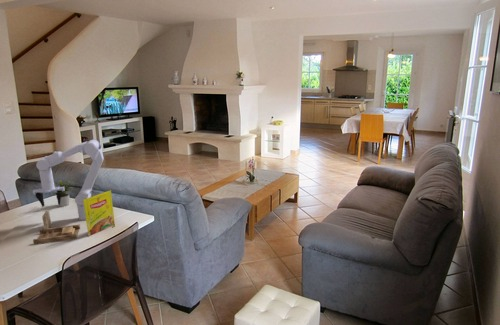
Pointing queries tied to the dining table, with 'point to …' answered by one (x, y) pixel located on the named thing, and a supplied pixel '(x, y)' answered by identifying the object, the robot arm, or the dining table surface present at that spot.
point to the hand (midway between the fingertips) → (51, 205)
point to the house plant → (64, 193)
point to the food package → (99, 212)
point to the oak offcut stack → (68, 231)
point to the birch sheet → (46, 220)
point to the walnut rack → (55, 234)
